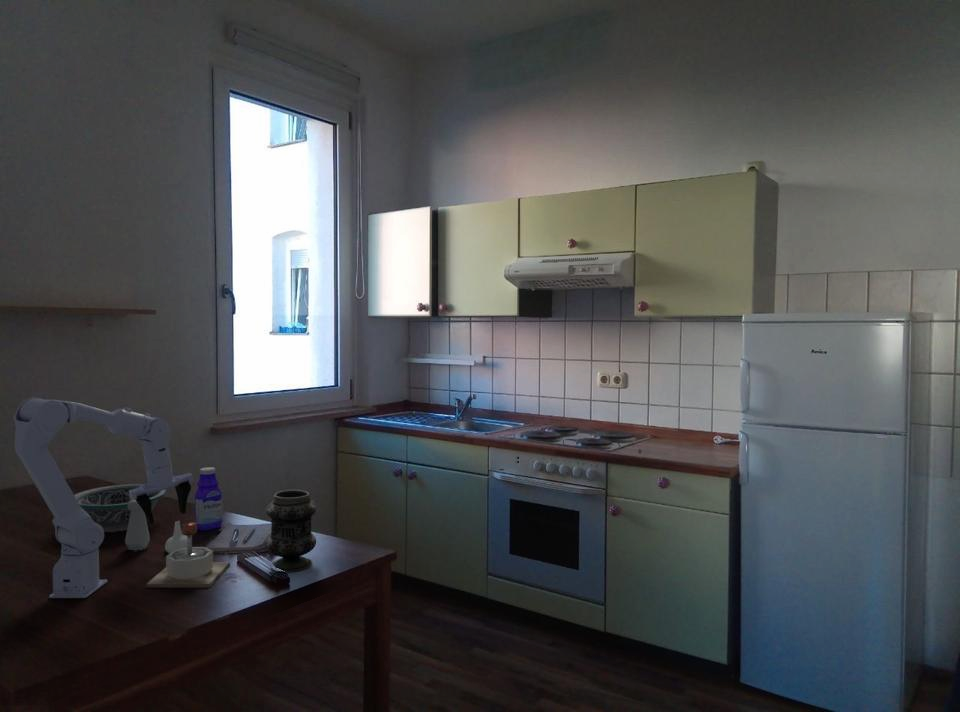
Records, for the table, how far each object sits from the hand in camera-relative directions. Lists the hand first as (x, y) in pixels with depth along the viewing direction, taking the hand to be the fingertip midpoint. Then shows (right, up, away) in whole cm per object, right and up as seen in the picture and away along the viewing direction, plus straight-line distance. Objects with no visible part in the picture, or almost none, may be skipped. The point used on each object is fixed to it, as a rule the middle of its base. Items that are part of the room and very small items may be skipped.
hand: (167, 517), depth 171 cm
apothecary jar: (+31, -12, -1) cm, 33 cm away
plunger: (+9, -7, -8) cm, 14 cm away
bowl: (-27, -10, +29) cm, 41 cm away
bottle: (-1, -10, +29) cm, 30 cm away
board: (+9, -12, -8) cm, 17 cm away
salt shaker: (-12, -11, +10) cm, 19 cm away
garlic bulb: (-1, -11, +10) cm, 15 cm away
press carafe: (+9, -12, -8) cm, 17 cm away
